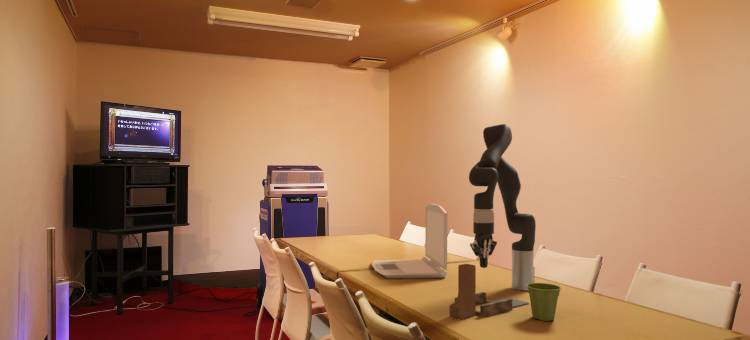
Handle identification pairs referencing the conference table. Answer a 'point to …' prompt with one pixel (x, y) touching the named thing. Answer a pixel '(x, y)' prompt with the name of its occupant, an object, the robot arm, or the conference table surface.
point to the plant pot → (543, 300)
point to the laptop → (433, 251)
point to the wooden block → (465, 293)
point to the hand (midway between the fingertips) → (483, 267)
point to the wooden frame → (491, 305)
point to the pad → (514, 302)
